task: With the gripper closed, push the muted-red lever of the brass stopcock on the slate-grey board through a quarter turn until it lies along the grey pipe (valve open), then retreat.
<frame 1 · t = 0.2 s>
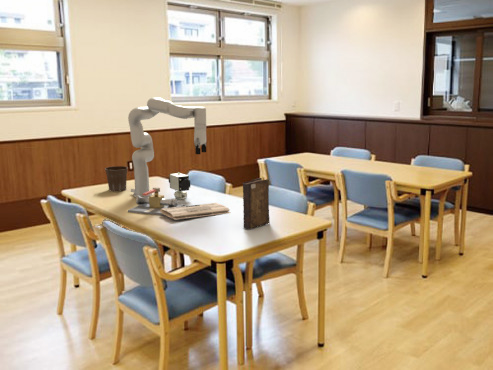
hand: (201, 153, 312), 31 cm above the table, tool pointing down, fingers open, 9 cm apart
valve body: (156, 199, 295), on the board, point 6 cm above the table
newspaper: (195, 212, 284), point 1 cm above the table
book: (255, 226, 259), on the table
board: (157, 209, 296), on the table
lever: (151, 191, 288), point 12 cm above the table, hinge at -90.0°
plant pot: (117, 190, 351), on the table
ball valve: (180, 198, 323), on the table
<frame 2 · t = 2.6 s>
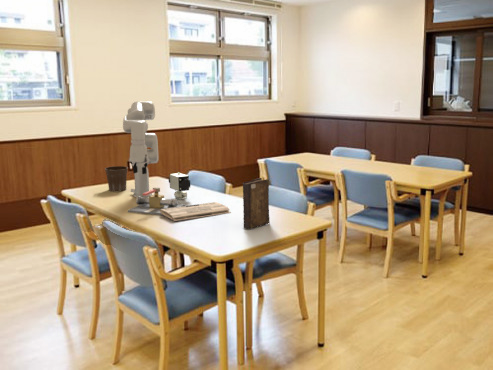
hand: (139, 173, 284), 24 cm above the table, tool pointing down, fingers open, 5 cm apart
newspaper: (195, 213, 284), on the table, touching board
everything else where it was.
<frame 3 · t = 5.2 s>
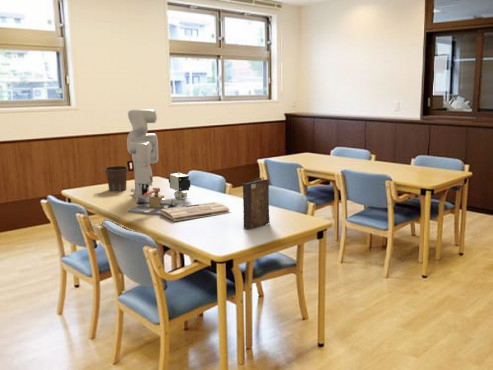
hand: (144, 194, 286), 11 cm above the table, tool pointing down, fingers closed
lever: (151, 191, 288), point 12 cm above the table, hinge at -87.3°, touching gripper
everything else where it was.
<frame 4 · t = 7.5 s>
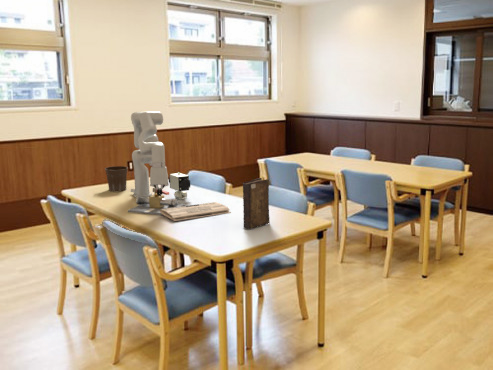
hand: (159, 195, 284), 10 cm above the table, tool pointing down, fingers closed
lever: (161, 191, 289), point 12 cm above the table, hinge at -32.8°, touching gripper
everything else where it was.
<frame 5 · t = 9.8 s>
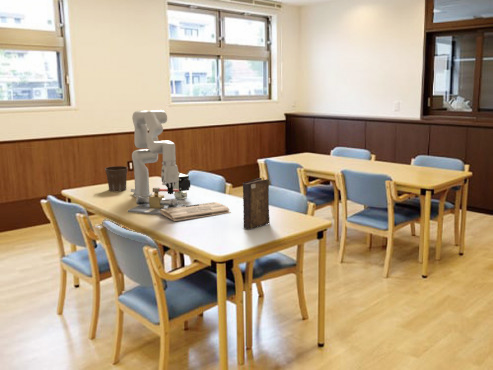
hand: (170, 193, 289), 11 cm above the table, tool pointing down, fingers closed
lever: (165, 190, 292), point 12 cm above the table, hinge at 8.0°
everything else where it was.
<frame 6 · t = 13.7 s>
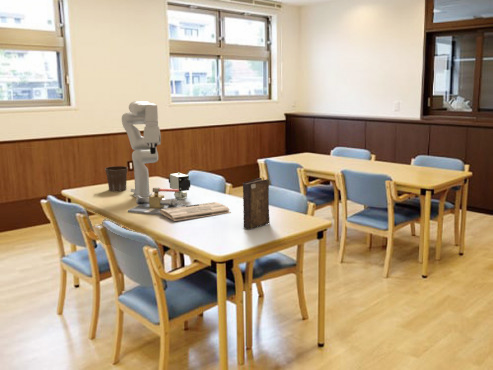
hand: (153, 153, 303), 32 cm above the table, tool pointing down, fingers closed
nothing on the table moved.
at the end: lever at +8° (first picture: -90°) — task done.
